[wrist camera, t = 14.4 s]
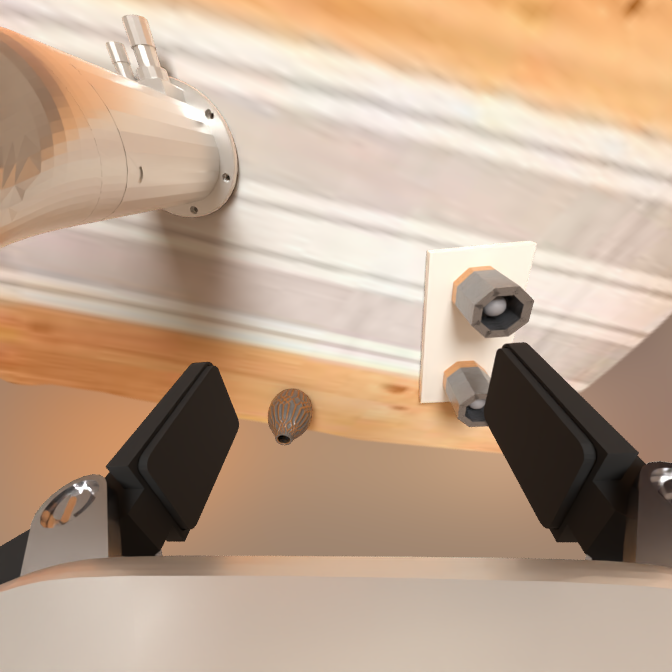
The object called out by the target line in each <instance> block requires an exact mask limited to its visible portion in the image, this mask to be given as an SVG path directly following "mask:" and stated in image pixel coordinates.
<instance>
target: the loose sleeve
mask: <svg viewBox="0 0 672 672" xmlns="http://www.w3.org/2000/svg"><path fill="white" fill-rule="evenodd" d="M497 296H502V297H503V298H504V299H505V301H506V309H505V311H504V312H503V313H502V314H500V315H498V316H489V315H487V314H485V313H484V312H483V307H485V306H486V305H487V304H488V303H489V302H491V301H492V300H493V299H494V298H495V297H497ZM452 301H453V303H454V304H455V305H456V306H457V308H458V309H459V310H460V312H461V313H462V314H463V315H464V317H465V318H466V319H467V321H468V322H469V323H470V325H471V326H472V327H473V328H475V329H476V330H477V331H478V332H479V333H480V334H481V335H482V336H484V337H485V338H495V337H509V336H510V335H511V334H513V333H514V332H515V331H517V330H518V329H519V328H521V327H522V326H523V325H525V324H526V323H527V322H529V318H530V314H531V310H532V307H533V303H534V300H533V299H532V298H531V297H530V296H529V295H528V294H527V293H526V292H525V291H524V290H523V289H522V288H521V287H520V286H519V285H518V284H516V283H515V282H513V281H512V280H510V279H509V278H507V277H506V276H504V275H503V274H501V273H500V272H499V271H497V270H496V269H494V268H493V267H491V266H480V267H469V268H468V269H467V270H466V271H465V272H464V273H463V274H462V275H461V276H459V277H458V278H457V279H456V280H455V281H454V282H453V290H452Z"/></svg>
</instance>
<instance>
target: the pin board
mask: <svg viewBox="0 0 672 672" xmlns="http://www.w3.org/2000/svg"><path fill="white" fill-rule="evenodd" d="M536 245H537V243H534V242H532V241H521V242H511V243H500V244H490V245H479V246H469V247H458V248H448V249H437V250H427V258H426V277H425V295H424V314H423V332H422V351H421V370H420V388H419V398H420V402H421V403H433V402H450V400H449V398H448V395H447V393H446V391H445V388H444V386H443V376H444V371H445V370H446V369H448V368H449V367H450V366H452V365H453V364H454V363H456V362H457V361H473V360H474V361H475V362H477V363H478V364H479V365H480V366H481V367H482V368H484V369H485V371H486V372H487V374H488V375H489V377H490V378H491V374H492V369H493V365H494V360H495V355H496V351H497V350H498V349H499V348H502V346H503V345H504V344H506V343H513V340H514V335H515V332H514V333H513V334H511V335H510V336H509V337H495V338H485V337H484V336H482V335H481V334H480V333H479V332H478V331H477V330H476V329H475V328H473V327H472V326H471V325H470V323H469V322H468V321H467V319H466V318H465V317H464V315H463V314H462V313H461V312H460V310H459V309H458V308H457V306H456V305H455V304H454V303H453V301H452V290H453V282H454V281H455V280H456V279H457V278H458V277H459V276H461V275H462V274H463V273H464V272H465V271H466V270H467V269H468V268H469V267H480V266H491V267H493V268H494V269H496V270H497V271H499V272H500V273H501V274H503V275H504V276H506V277H507V278H509V279H510V280H512V281H513V282H515V283H516V284H518V285H519V286H520V287H521V288H522V289H523V290H524V291H525V290H526V286H527V282H528V278H529V274H530V270H531V266H532V262H533V258H534V254H535V249H536ZM505 309H506V301H505V299H504V298H503V297H502V296H497V297H495V298H494V299H493V300H492V301H491V302H489V303H488V304H487V305H486V306H485V307H483V312H484V313H485V314H487V315H489V316H498V315H500V314H502V313H503V312H504V311H505ZM485 402H486V399H478V400H476V401H474V402H473V403H471V404H470V405H469V406H470V407H471V408H473V409H480V408H482V407H483V406H484V405H485Z"/></svg>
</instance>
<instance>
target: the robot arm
mask: <svg viewBox="0 0 672 672" xmlns="http://www.w3.org/2000/svg"><path fill="white" fill-rule="evenodd" d="M122 21H123V24H124V27H125V30H126V33H127V36H128V39H129V42H130V45H131V48H132V49H133V50H134V53H135V56H136V59H137V62H138V65H139V68H137V69H136V72H137V75H138V78H139V79H135V78H134V75H133V72H132V69H131V66H130V61H129V58H128V56H127V53H126V50H125V47H124V45H123V44H122V43H119V42H107V43H106V47H107V50H108V52H109V55H110V58H111V60H112V63H113V64H114V66H115V69H116V71H117V74H116V73H113V72H111V71H109V70H106V69H104V68H101V67H99V66H97V65H94V64H92V63H89V62H87V61H84V60H82V59H80V58H77V57H75V56H72V55H70V54H68V53H65V52H63V51H60V50H58V49H55V48H53V47H51V46H48V45H46V44H43V43H41V42H39V41H36V40H34V39H31V38H29V37H26V36H24V35H21V34H19V33H16V32H14V31H12V30H9V29H7V28H3V27H0V248H2V247H4V246H7V245H9V244H11V243H14V242H17V241H20V240H23V239H26V238H29V237H32V236H35V235H39V234H43V233H46V232H50V231H55V230H59V229H63V228H68V227H72V226H77V225H82V224H87V223H93V222H98V221H103V220H108V219H113V218H118V217H123V216H128V215H133V214H138V213H143V212H148V211H154V210H159V209H163V210H165V211H167V212H169V213H172V214H174V215H178V216H182V217H194V218H195V217H200V216H205V215H208V214H211V213H213V212H215V211H216V210H218V209H220V208H221V207H222V206H223V205H224V204H225V203H226V202H227V200H228V199H229V197H230V196H231V194H232V192H233V189H234V186H235V184H236V178H237V154H236V148H235V144H234V141H233V138H232V135H231V132H230V130H229V128H228V126H227V124H226V122H225V120H224V118H223V117H222V115H221V114H220V112H219V111H218V109H217V108H216V107H215V106H214V105H213V104H212V102H211V101H210V100H209V99H208V98H207V97H206V96H205V95H203V94H202V93H201V92H200V91H198V90H197V89H196V88H194V87H192V86H191V85H189V84H187V83H185V82H183V81H181V80H178V79H176V78H173V77H170V76H168V74H167V71H166V70H165V69H164V68H161V66H160V63H159V59H158V56H157V53H156V47H155V44H154V41H153V37H152V34H151V31H150V28H149V24H148V21H147V19H145V18H144V17H141V16H138V15H126V16H124V17H122ZM212 113H213V114H214V118H213V119H212V118H211V114H212ZM228 175H229V176H230V180H228V179H227V176H228ZM196 208H197V209H198V211H197V210H196ZM484 417H485V420H486V423H487V424H488V426H489V428H490V430H491V432H492V434H493V436H494V437H495V439H496V441H497V443H498V445H499V447H500V449H501V450H502V452H503V454H504V456H505V458H506V460H507V461H508V463H509V465H510V467H511V469H512V471H513V473H514V475H515V477H516V478H517V480H518V482H519V484H520V486H521V488H522V489H523V492H524V493H525V495H526V497H527V499H528V501H529V503H530V504H531V506H532V508H533V510H534V512H535V514H536V516H537V517H538V520H539V521H540V523H541V524H542V525H543V526H544V527H545V528H549V529H550V531H551V532H552V534H553V536H554V538H555V539H556V542H578V543H579V544H580V546H581V548H582V549H583V551H584V553H585V554H586V559H585V560H565V559H530V558H462V557H458V558H457V557H365V556H362V557H360V556H358V557H357V556H356V557H355V556H162V551H161V548H162V546H163V544H164V542H165V540H167V541H185V540H186V538H187V535H188V533H189V531H190V529H193V528H194V527H195V526H196V524H197V522H198V520H199V518H200V515H201V513H202V511H203V509H204V506H205V504H206V502H207V500H208V497H209V495H210V493H211V490H212V488H213V486H214V484H215V481H216V479H217V477H218V474H219V472H220V470H221V468H222V465H223V463H224V461H225V458H226V456H227V454H228V451H229V449H230V447H231V445H232V443H233V440H234V438H235V435H236V433H237V431H238V428H239V421H238V418H237V415H236V413H235V410H234V408H233V405H232V403H231V400H230V397H229V395H228V392H227V390H226V387H225V385H224V382H223V380H222V377H221V375H220V372H219V370H218V368H217V367H216V366H213V364H212V363H210V362H201V363H192V364H191V365H190V366H189V367H188V368H187V370H186V371H185V372H184V373H183V374H182V376H181V377H180V378H179V379H178V380H177V382H176V383H175V384H174V385H173V386H172V388H171V389H170V390H169V391H168V392H167V394H166V395H165V396H164V397H163V398H162V400H161V401H160V402H159V403H158V404H157V406H156V407H155V408H154V409H153V410H152V412H151V413H150V414H149V415H148V416H147V418H146V419H145V420H144V421H143V422H142V424H141V425H140V426H139V427H138V428H137V430H136V431H135V432H134V433H133V434H132V436H131V437H130V438H129V439H128V440H127V442H126V443H125V444H124V445H123V446H122V448H121V449H120V450H119V451H118V452H117V454H116V455H115V456H114V457H113V458H112V460H111V461H110V462H109V463H108V464H107V466H106V468H107V469H108V470H109V471H110V472H109V473H108V475H107V476H106V477H105V478H104V477H103V476H101V475H95V474H92V475H88V476H83V477H81V478H79V479H76V480H74V481H72V482H70V483H69V484H67V485H65V486H63V487H62V488H61V489H59V490H58V491H57V492H55V493H54V494H53V495H52V496H50V498H49V499H47V500H46V501H45V502H44V503H43V505H42V506H41V507H40V508H39V510H38V511H37V513H36V514H35V516H34V519H33V521H32V523H31V528H30V529H29V530H28V531H26V532H24V533H22V534H21V535H19V536H17V537H16V538H14V539H12V540H11V541H9V542H7V543H5V544H4V545H2V546H0V672H672V463H668V462H661V461H659V462H649V463H647V464H645V463H644V462H643V461H642V460H641V459H640V458H639V457H638V456H637V455H638V453H639V452H637V451H636V450H635V449H634V448H633V447H632V446H631V445H630V444H629V443H628V442H627V441H626V440H625V439H624V438H623V437H622V436H621V435H620V434H619V433H618V432H617V431H616V430H615V429H614V428H613V427H612V426H611V425H610V424H609V423H608V422H607V421H606V420H605V419H604V418H603V417H602V416H601V415H600V414H599V413H598V412H597V411H596V410H595V409H593V407H592V406H591V405H590V404H589V403H587V401H585V399H583V398H582V397H581V396H580V395H579V394H578V393H577V392H576V391H575V390H574V389H573V388H572V387H571V386H570V385H569V384H568V383H567V382H566V381H565V380H564V379H563V378H562V377H561V376H560V375H559V374H558V373H557V372H556V371H555V370H554V369H553V368H552V367H551V366H550V365H549V364H548V363H547V362H546V361H545V360H544V359H543V358H542V357H541V356H540V355H539V354H538V353H537V352H536V351H535V350H534V349H533V348H532V347H530V346H529V345H528V344H527V343H524V342H522V343H506V344H504V345H503V346H502V348H499V349H498V350H497V351H496V355H495V360H494V365H493V369H492V374H491V379H490V383H489V388H488V393H487V397H486V402H485V407H484Z"/></svg>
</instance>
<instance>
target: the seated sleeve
mask: <svg viewBox="0 0 672 672" xmlns="http://www.w3.org/2000/svg"><path fill="white" fill-rule="evenodd" d="M490 379H491V378H490V377H489V375H488V374H487V372H486V371H485V369H484V368H482V367H481V366H480V365H479V364H478V363H477V362H475V361H474V360H473V361H457V362H456V363H454V364H453V365H452V366H450V367H449V368H448V369H446V370H445V371H444V376H443V386H444V388H445V391H446V393H447V395H448V398H449V400H450V402H451V405H452V407H453V409H454V412H455V414H456V416H457V418H458V419H459V420H460V421H462V422H463V423H464V424H466V425H467V426H469V427H479V426H488V424H487V423H486V420H485V417H484V407H485V405H484V406H483V407H482V408H480V409H473V408H471V407H470V406H469V405H470V404H471V403H473V402H474V401H476V400H478V399H486V397H487V393H488V388H489V383H490Z"/></svg>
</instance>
